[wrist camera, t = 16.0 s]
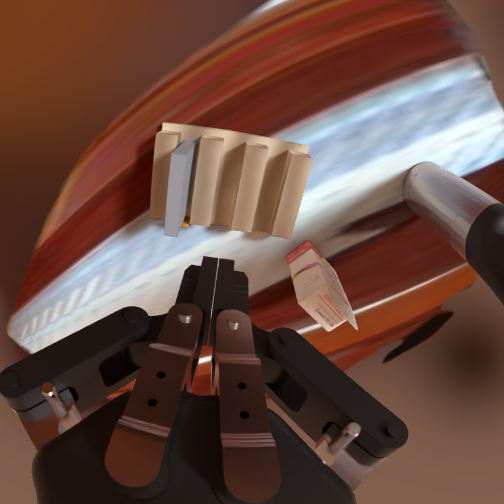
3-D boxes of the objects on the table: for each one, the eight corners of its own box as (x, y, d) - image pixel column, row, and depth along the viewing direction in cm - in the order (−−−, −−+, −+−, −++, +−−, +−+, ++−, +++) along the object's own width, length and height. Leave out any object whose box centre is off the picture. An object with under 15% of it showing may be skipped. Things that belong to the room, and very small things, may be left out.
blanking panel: (197, 141, 37) (186, 155, 30) (188, 208, 42) (177, 237, 35) (185, 139, 37) (171, 153, 29) (177, 206, 42) (164, 235, 34)
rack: (307, 145, 39) (314, 151, 36) (284, 232, 46) (288, 245, 43) (164, 122, 37) (157, 125, 33) (156, 213, 44) (149, 224, 40)
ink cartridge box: (284, 256, 49) (299, 318, 36) (308, 238, 47) (332, 297, 34) (313, 286, 52) (333, 348, 40) (335, 270, 51) (362, 330, 38)
